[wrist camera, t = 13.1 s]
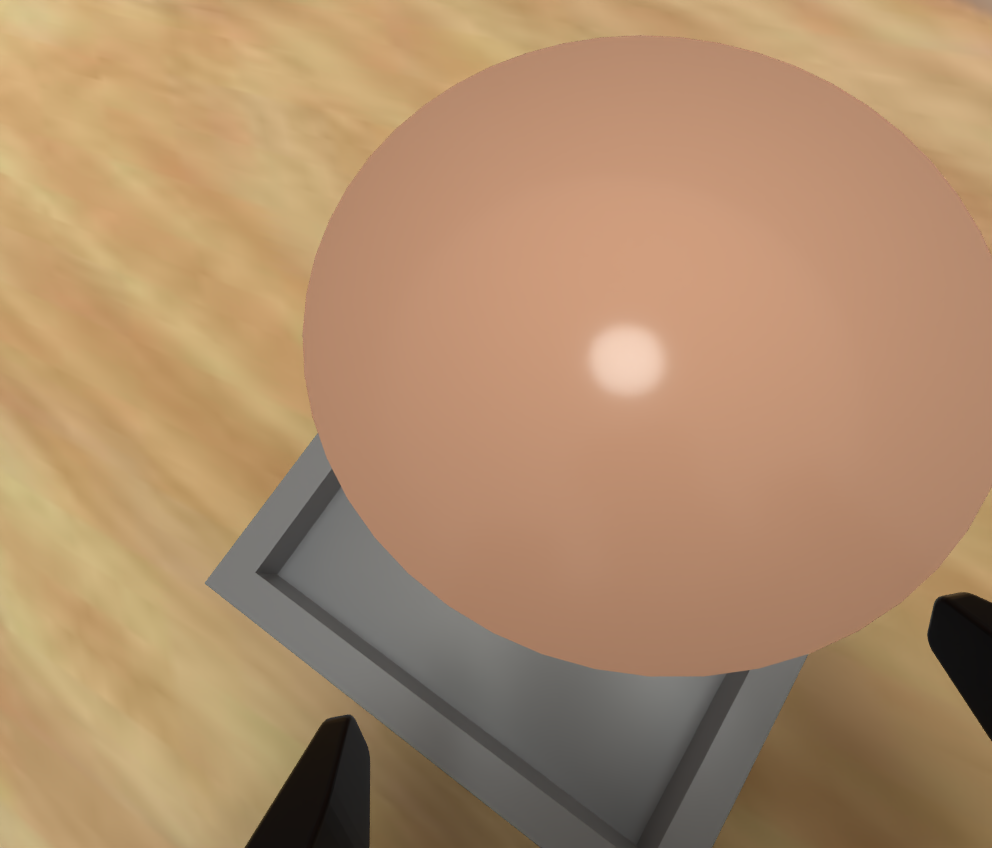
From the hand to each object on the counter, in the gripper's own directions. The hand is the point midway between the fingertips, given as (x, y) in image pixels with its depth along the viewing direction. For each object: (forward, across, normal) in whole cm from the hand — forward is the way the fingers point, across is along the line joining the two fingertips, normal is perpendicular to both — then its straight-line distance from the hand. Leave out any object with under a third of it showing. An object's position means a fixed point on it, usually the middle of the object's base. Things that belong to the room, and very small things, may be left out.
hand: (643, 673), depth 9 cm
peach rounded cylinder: (+8, 0, +3) cm, 8 cm away
